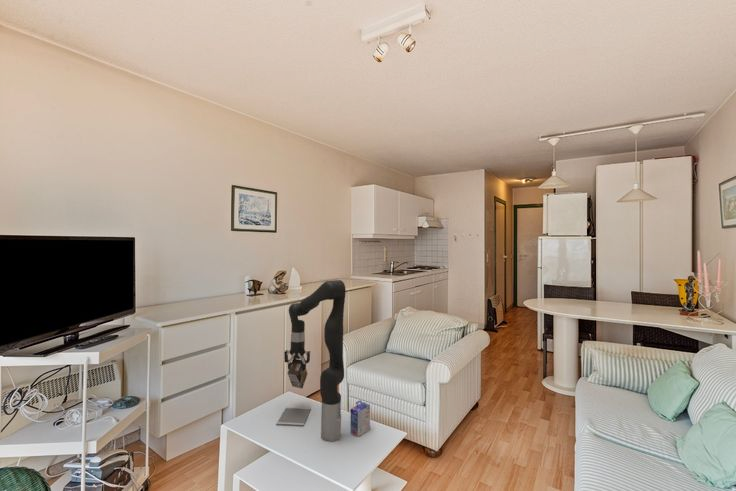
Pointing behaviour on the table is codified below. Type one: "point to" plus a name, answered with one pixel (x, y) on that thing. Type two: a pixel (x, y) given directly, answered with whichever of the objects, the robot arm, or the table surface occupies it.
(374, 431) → the table surface
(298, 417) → the mat
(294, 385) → the coffee box
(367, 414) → the ink cartridge box
